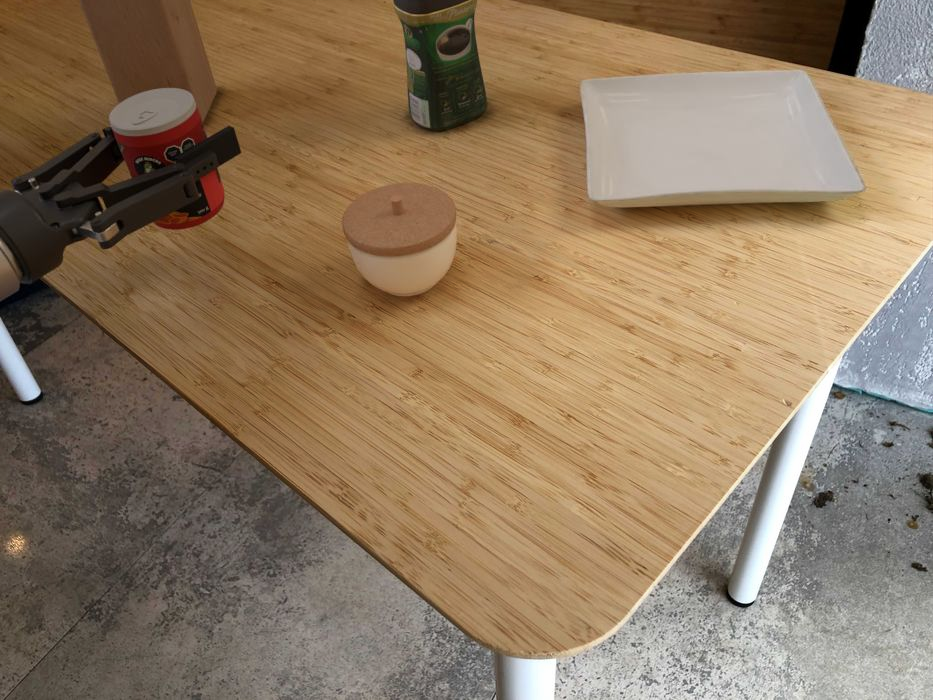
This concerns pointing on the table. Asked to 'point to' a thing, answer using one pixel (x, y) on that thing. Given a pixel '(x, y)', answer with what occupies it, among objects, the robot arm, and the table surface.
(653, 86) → the square plate
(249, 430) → the table surface
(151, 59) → the wooden block
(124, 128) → the canned food
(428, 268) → the trinket box
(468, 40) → the coffee jar
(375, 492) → the table surface
